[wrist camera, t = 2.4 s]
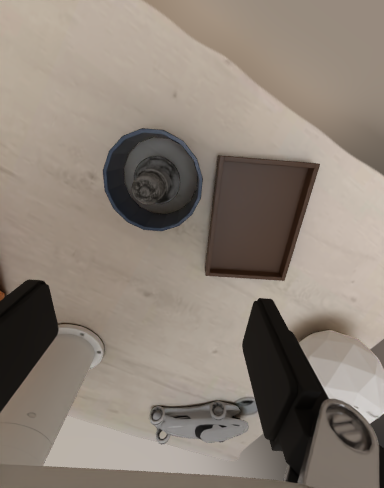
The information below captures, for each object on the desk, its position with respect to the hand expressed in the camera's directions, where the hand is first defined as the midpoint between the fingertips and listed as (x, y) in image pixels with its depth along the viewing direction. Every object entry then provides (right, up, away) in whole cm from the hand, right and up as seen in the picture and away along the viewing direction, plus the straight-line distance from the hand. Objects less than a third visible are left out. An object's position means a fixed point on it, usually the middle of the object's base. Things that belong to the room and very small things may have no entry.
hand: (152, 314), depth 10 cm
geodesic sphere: (+27, -17, +33) cm, 46 cm away
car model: (+3, -41, +44) cm, 60 cm away
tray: (+11, +7, +23) cm, 26 cm away
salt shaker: (-3, +13, +20) cm, 24 cm away
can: (-3, +13, +20) cm, 24 cm away
